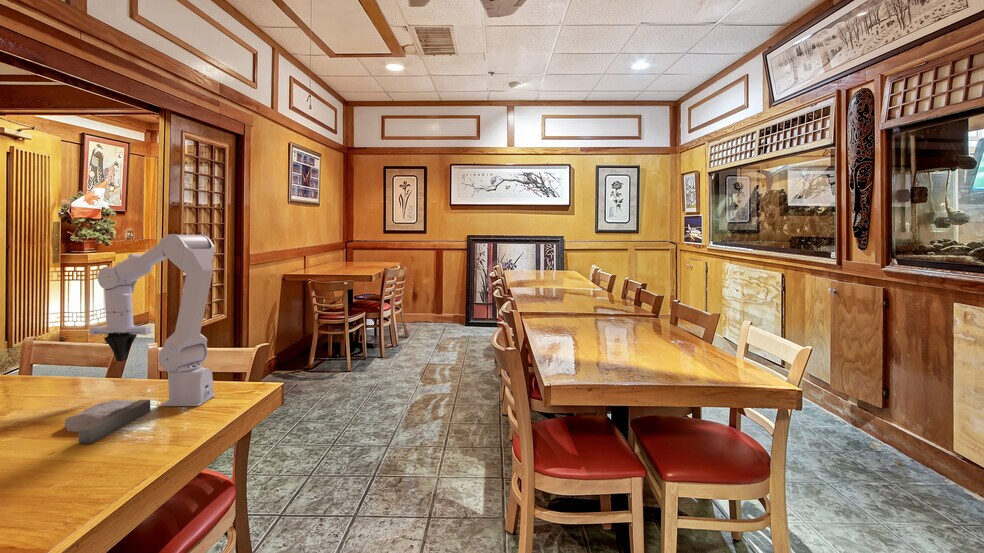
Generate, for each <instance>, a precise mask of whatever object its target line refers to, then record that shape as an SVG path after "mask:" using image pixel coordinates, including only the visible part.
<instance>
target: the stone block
mask: <svg viewBox="0 0 984 553" xmlns="http://www.w3.org/2000/svg"><path fill="white" fill-rule="evenodd" d="M137 401H138V400H134V401H133V400H127V399H126V400H125V399H113V400H110V401H105V402H101V403H98V404H95V405H93V406H91V407H88V408H87V409H84V410H83V411H81V412H80V413H77V414H74V415H71V416H68V417H66V418H65V421H64V427H65V429H66V431H67V432H74V433H75V432H76V433H78V430H80V429H82V428H84V427H86V426H88V425H90V424H92V423H94V422H96V421H98V420H100V419H102V418H104V417H106V416H108V415H110V414H112V413H114V412H116V411H118V410H120V409H122V408H124V407H126V406H128V405H130V404H132V403H135V402H137Z"/></svg>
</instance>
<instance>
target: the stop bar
mask: <svg viewBox="0 0 984 553" xmlns="http://www.w3.org/2000/svg"><path fill="white" fill-rule="evenodd" d="M136 401H137V402H135V403H132V404H130V405H128V406H126V407H124V408H122V409H120V410H118V411H116V412H114V413H112V414H110V415H108V416H106V417H104V418H102V419H100V420H98V421H96V422H94V423H92V424H90V425H88V426H86V427H84V428H82V429H80V430H78V432H77V433H78V445H92V444H94V443H96V442H98V441H100V440H101V439H104V438H105V437H107V436H108V435H111V434H112V433H114V432H116V431H118V430H120V429H122V428H123V427H125V426H127V425H129V424H130V423H132V422H134V421H136V420H138V419H139V418H141V417H143V416H145V415H148V413H151V410H152V409H151V399H139V400H136Z"/></svg>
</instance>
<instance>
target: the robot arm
mask: <svg viewBox="0 0 984 553" xmlns="http://www.w3.org/2000/svg"><path fill="white" fill-rule="evenodd" d="M215 249H216V246H215V245H214V244H213V242H212V240H211V239H210V238H209V237H208V236H207V235H205V234H175V233H170V234H167V235H166V236H165V237H161V238H160V240H159V243H157V244H156V245H155V246H153V247H152V248H150V249H149V250H147V251H146V252H145V253H143V254H140V253H130V254H128V255H127V256H128V258H126V259H124V260H122V261H119V262H117V263H116V264H115V265H114V266H113V267H110V266H103V267H102V268H101V269H100V270H99V271H98V273H97V282H98V285H99V286H100V287H101V288H103V290H104V291H103V292H104V307H105V325H104V326H102V325H101V326H92V327H89V336H93V335H94V336H95V335H107V336H104V337H103V338H104V341H105V342H106V343H107V344H108V346H109V347H110V349H111V350H112V353H113V354H114V357H115V359H116V362H124V361H126V360H128V357H129V353H130V350H131V347H132V345H133V343H134V341H135V339H136V338H137V335H142V336H148V335H151V332H152V329H151V326H143V325H135V324H134V307H133V293H134V292H135V285H136V284H137V281H138V280H139V279H140V278H142V277H145V276H147V275H148V274H150V273H151V272H152V270H153V267H154V265H156V264H158V263H160V262H162V261H165V260H167V259H168V260H169V261H170V262H171V263H172V264H174V266H176V267H177V268H178V269H179V270H180V271H183V272H184V273H185V279H184V285H183V289H182V294H181V300H180V305H179V309H178V315H177V320H176V326H175V329H174V330H175V331H174V332H173V333H172V334H171V335H169V337H168V338H166V339H165V341H164V344H163V347H162V348H161V350H160V351H159V353H158V362H159V365H160V366H161V368H162V369H164V372H167V383H168V384H167V385H168V386H167V388H168V400H166V401H164V402H162V403H161V404H160V406H161V407H198V406H200V405H202V404H204V403H206V402H207V401H209V400H210V399H212V398H213V397H215V396H216V394H215V393H214V379H213V378H214V377H213V372H212V370H211V369H210V368H208V367H207V368H206V367H203V365H204V361H205V360H206V359H207V357H208V354H209V352H208V351H209V350H208V338H207V337H206V336H205V335H203V334H202V333H201V331H202V326H203V320H204V316H205V311H206V307H207V301H208V298H209V292H210V288H211V284H212V278H213V273H214V266H213V258H214V256H215V255H214V254H215Z"/></svg>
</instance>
